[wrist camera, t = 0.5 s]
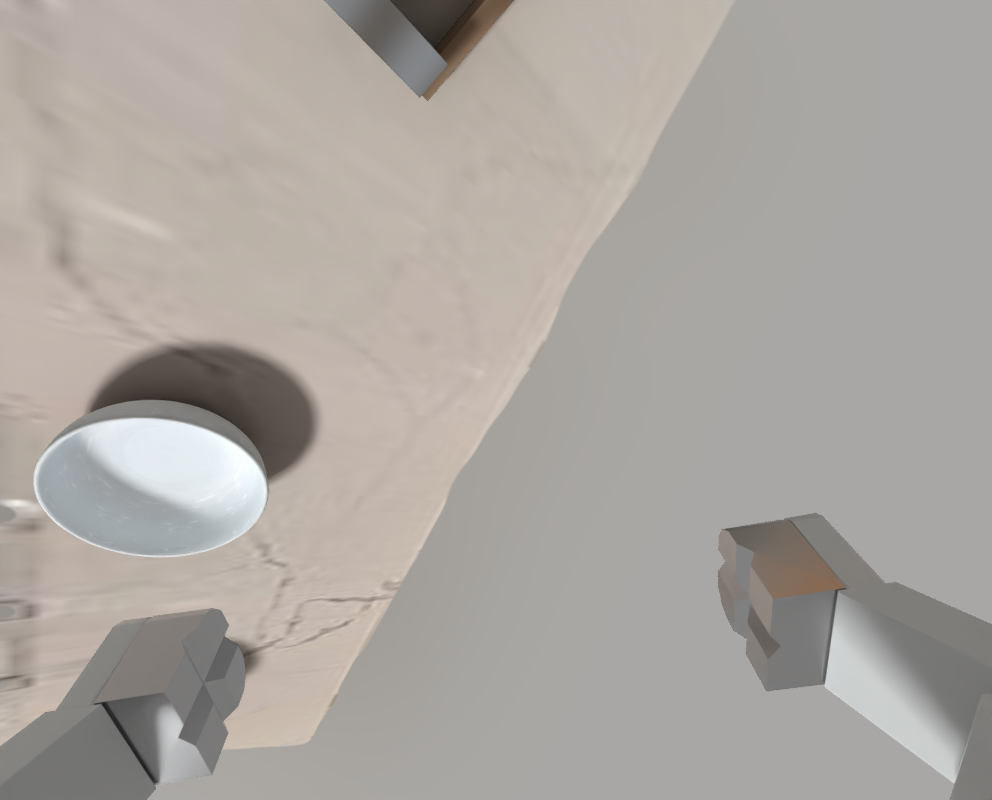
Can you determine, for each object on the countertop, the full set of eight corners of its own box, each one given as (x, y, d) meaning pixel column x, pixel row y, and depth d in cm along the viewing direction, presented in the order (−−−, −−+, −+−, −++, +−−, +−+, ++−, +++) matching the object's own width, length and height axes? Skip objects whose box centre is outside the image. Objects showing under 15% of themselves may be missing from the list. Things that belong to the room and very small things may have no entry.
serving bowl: (29, 371, 56) (1, 419, 51) (267, 373, 62) (263, 416, 57) (80, 516, 68) (62, 567, 63) (274, 506, 74) (272, 551, 69)
